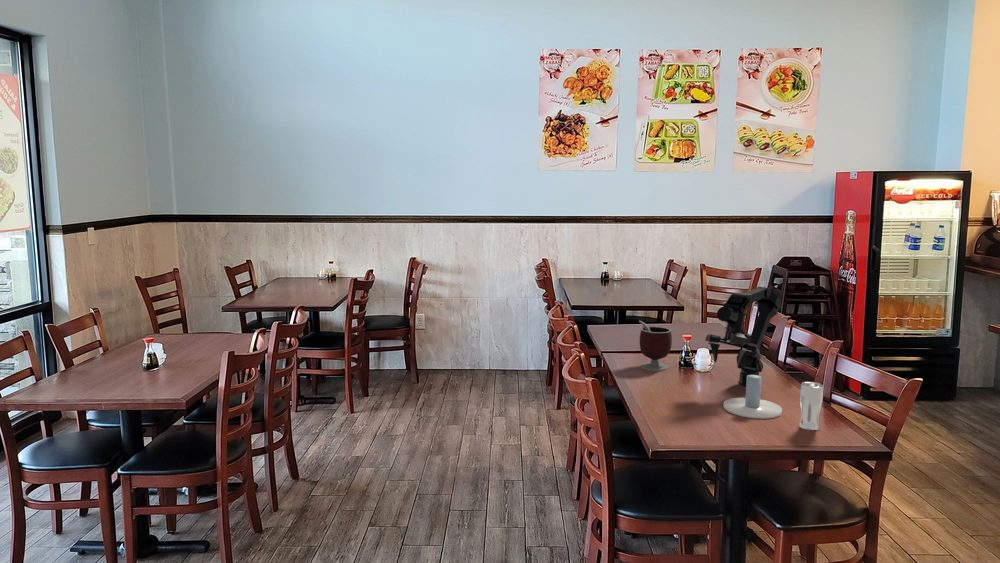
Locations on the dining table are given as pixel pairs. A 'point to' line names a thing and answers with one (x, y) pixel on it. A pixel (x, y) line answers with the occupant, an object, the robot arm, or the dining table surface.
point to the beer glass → (810, 405)
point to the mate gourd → (655, 346)
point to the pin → (753, 391)
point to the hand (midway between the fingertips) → (726, 364)
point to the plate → (752, 409)
